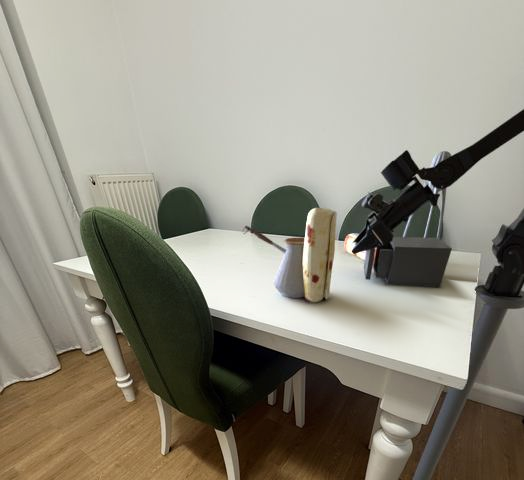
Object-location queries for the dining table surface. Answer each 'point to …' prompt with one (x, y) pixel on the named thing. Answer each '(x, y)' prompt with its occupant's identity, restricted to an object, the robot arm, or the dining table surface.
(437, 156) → the citrus juicer
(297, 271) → the coffee pot
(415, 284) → the dark grey box
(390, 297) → the dining table surface
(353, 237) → the snack package
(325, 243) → the food model
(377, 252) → the grey drawer
